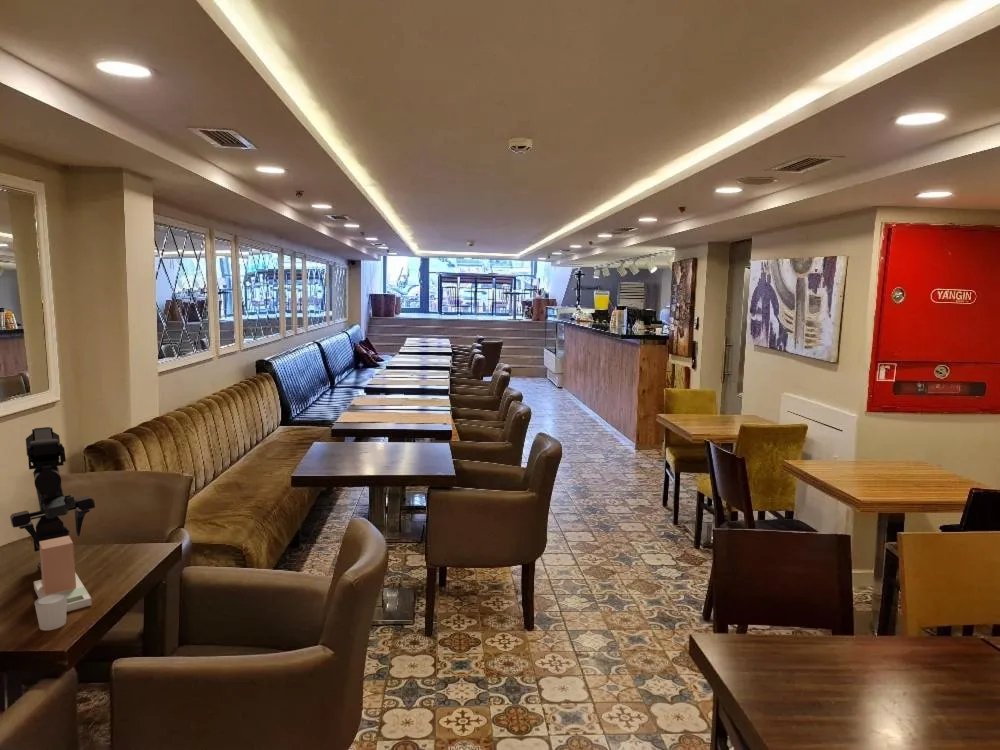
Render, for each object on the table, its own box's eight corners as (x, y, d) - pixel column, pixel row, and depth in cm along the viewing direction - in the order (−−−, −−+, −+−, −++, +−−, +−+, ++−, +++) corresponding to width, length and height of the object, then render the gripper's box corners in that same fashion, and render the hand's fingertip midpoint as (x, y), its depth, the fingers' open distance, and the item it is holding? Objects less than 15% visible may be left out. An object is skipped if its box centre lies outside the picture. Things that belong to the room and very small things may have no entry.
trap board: (34, 588, 183) (33, 581, 183) (75, 578, 190) (74, 571, 190) (47, 617, 167) (46, 609, 167) (91, 604, 174) (91, 597, 174)
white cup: (56, 632, 160) (54, 605, 159) (29, 631, 160) (27, 604, 160) (75, 618, 167) (73, 592, 166) (49, 617, 167) (47, 592, 166)
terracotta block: (42, 585, 181) (39, 541, 179) (72, 578, 185) (68, 535, 183) (45, 594, 175) (42, 549, 174) (76, 587, 180) (73, 542, 178)
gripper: (9, 500, 164) (20, 559, 165) (94, 481, 176) (103, 536, 178) (5, 493, 172) (16, 549, 174) (86, 476, 184) (95, 528, 186)
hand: (59, 541), depth 177 cm, fingers open, 9 cm apart
